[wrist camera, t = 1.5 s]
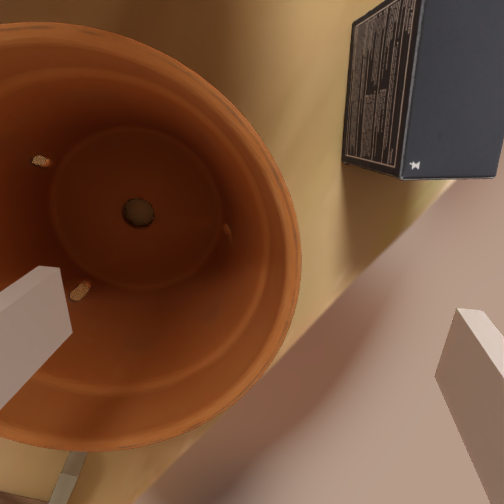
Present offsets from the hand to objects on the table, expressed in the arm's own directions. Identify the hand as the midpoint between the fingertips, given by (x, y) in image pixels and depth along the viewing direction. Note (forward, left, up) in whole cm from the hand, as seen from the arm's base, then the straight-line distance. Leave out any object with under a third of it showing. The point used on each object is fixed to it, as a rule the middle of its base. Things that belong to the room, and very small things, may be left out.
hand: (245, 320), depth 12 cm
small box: (0, +15, -20) cm, 25 cm away
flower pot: (-4, -6, -20) cm, 22 cm away
